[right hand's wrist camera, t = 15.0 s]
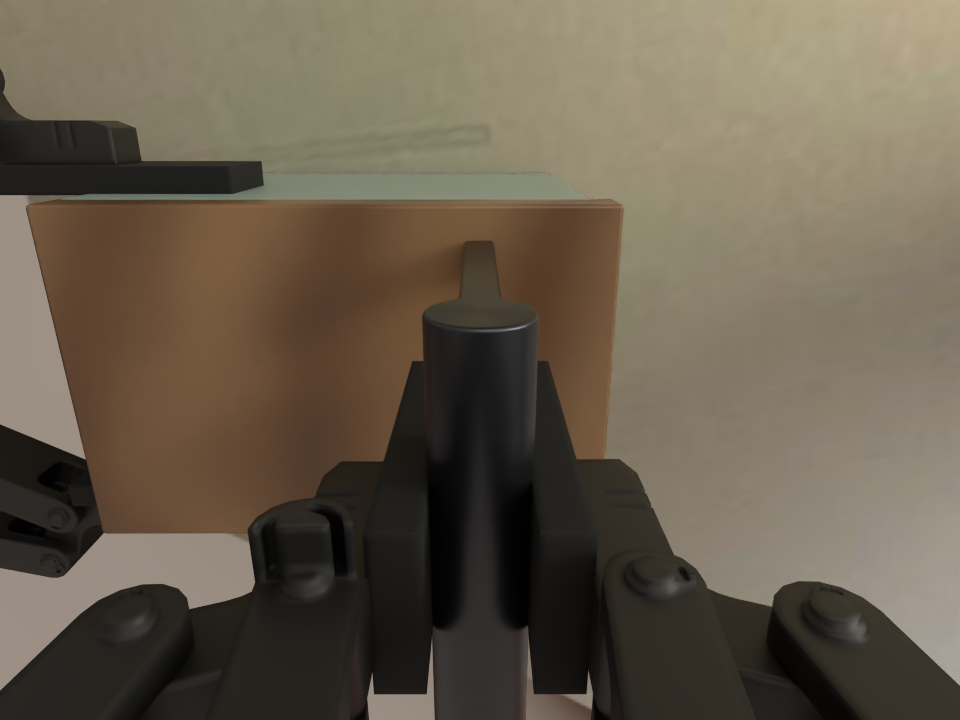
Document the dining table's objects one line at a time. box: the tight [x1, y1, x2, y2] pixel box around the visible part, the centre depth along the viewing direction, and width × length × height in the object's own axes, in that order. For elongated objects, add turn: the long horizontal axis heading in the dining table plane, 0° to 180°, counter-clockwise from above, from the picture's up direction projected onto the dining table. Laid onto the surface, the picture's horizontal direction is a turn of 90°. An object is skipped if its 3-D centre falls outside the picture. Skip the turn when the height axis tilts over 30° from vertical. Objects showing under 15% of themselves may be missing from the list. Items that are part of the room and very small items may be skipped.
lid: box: [26, 199, 624, 720], centre depth 14 cm, size 14×9×9 cm, turn 90°
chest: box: [60, 173, 589, 200], centre depth 22 cm, size 14×9×10 cm
